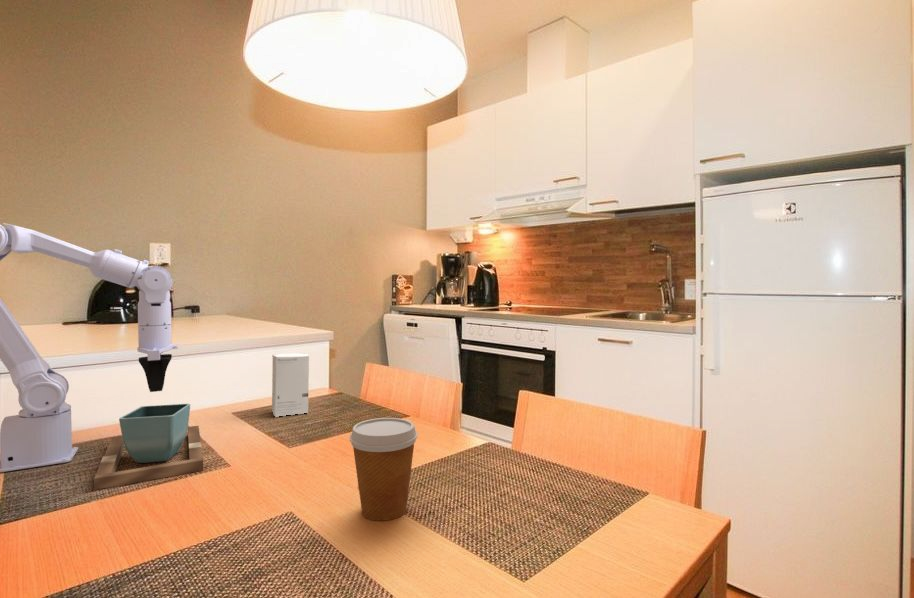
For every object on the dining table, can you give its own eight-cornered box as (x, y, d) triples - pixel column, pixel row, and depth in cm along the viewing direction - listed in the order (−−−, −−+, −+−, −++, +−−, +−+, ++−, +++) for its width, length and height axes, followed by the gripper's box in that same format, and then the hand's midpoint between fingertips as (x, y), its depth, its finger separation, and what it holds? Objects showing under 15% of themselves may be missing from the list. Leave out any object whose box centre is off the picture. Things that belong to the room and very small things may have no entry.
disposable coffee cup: (388, 534, 59) (387, 441, 59) (335, 515, 64) (334, 429, 64) (431, 504, 67) (430, 423, 67) (381, 489, 72) (380, 413, 72)
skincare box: (274, 418, 112) (273, 357, 112) (271, 412, 118) (270, 353, 117) (310, 413, 116) (309, 354, 116) (305, 408, 122) (305, 351, 121)
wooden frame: (94, 490, 73) (93, 476, 73) (112, 446, 93) (112, 435, 93) (203, 470, 80) (203, 458, 80) (198, 433, 100) (198, 424, 100)
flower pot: (118, 469, 81) (117, 418, 81) (142, 451, 90) (141, 405, 89) (173, 465, 83) (172, 415, 82) (192, 448, 91) (191, 403, 91)
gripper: (177, 326, 91) (178, 395, 91) (177, 321, 103) (179, 382, 104) (133, 328, 87) (135, 400, 88) (139, 323, 100) (140, 386, 100)
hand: (156, 390), depth 95 cm, fingers closed
